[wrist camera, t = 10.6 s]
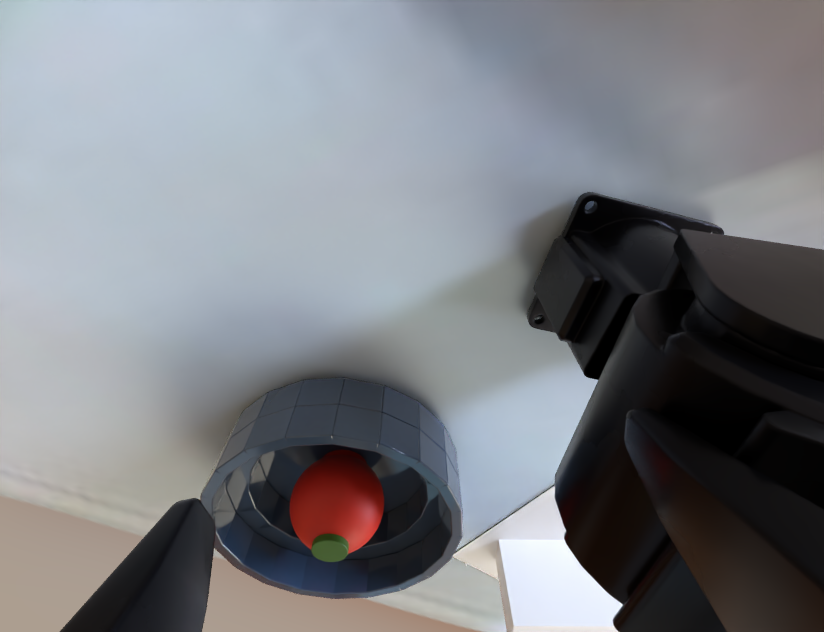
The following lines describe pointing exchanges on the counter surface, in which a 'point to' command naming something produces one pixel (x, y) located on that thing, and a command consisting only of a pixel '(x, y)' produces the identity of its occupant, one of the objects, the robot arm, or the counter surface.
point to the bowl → (309, 442)
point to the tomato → (336, 505)
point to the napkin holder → (540, 573)
